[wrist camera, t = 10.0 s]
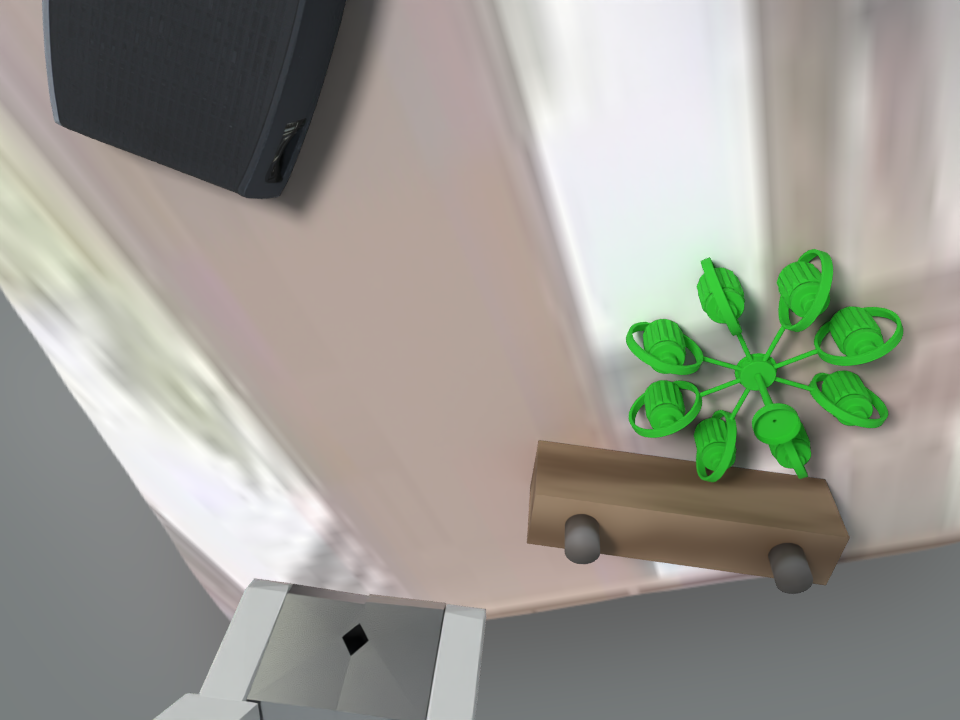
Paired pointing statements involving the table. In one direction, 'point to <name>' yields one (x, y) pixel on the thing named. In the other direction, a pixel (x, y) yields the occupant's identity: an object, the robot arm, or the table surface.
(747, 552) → the walnut block
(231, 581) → the table surface
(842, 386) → the chandelier
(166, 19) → the external hard drive
